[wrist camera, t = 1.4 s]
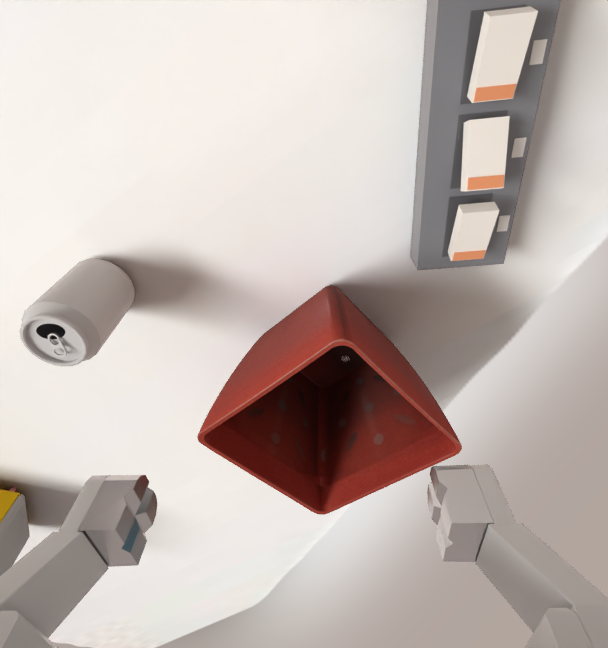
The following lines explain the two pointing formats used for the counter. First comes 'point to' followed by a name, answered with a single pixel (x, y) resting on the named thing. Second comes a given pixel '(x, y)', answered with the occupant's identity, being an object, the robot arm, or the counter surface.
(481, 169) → the rocker
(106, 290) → the can
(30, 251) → the counter surface
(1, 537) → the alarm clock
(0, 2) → the counter surface
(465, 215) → the rocker
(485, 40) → the block
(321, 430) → the plant pot
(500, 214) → the rocker switch panel
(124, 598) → the counter surface
